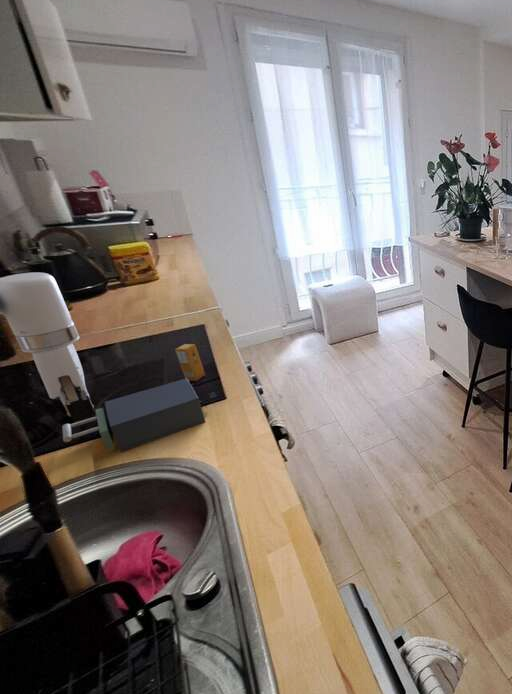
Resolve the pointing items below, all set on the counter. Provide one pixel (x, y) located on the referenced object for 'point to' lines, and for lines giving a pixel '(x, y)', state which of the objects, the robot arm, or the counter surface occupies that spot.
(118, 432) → the cabinet
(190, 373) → the supplement box
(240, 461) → the counter surface
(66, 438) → the drawer
